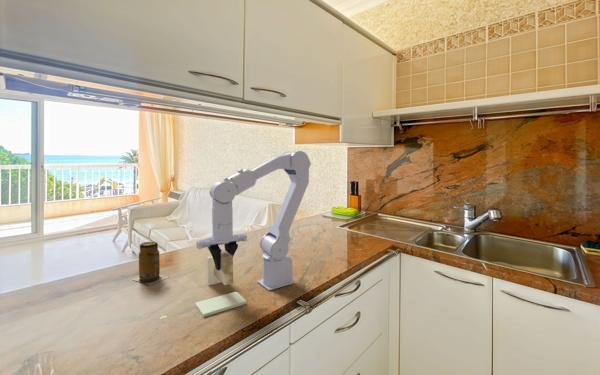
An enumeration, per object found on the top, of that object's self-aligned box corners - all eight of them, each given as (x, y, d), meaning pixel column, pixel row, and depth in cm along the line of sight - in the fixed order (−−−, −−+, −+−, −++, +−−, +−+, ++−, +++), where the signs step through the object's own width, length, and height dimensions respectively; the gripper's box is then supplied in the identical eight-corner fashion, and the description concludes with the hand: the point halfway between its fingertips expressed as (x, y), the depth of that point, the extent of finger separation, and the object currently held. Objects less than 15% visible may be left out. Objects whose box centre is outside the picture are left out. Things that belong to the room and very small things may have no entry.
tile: (224, 279, 93) (224, 253, 93) (226, 281, 92) (226, 254, 92) (207, 284, 90) (206, 257, 89) (208, 285, 89) (207, 258, 88)
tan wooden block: (221, 272, 87) (221, 247, 86) (233, 282, 80) (232, 255, 79) (213, 274, 86) (213, 249, 85) (224, 285, 78) (224, 257, 78)
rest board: (236, 294, 83) (236, 291, 83) (246, 303, 78) (246, 301, 78) (195, 305, 76) (195, 302, 76) (203, 317, 71) (203, 314, 71)
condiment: (152, 272, 98) (151, 239, 97) (169, 277, 94) (168, 243, 93) (132, 280, 92) (131, 244, 91) (148, 285, 88) (147, 248, 87)
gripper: (239, 218, 89) (240, 259, 90) (193, 223, 80) (193, 269, 81) (249, 222, 83) (249, 266, 84) (200, 228, 74) (201, 277, 76)
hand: (223, 268), depth 82 cm, fingers closed on tan wooden block, 2 cm apart
